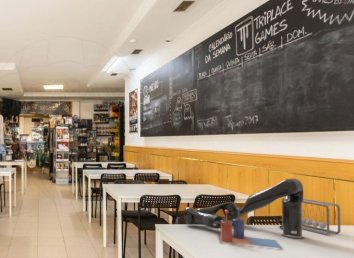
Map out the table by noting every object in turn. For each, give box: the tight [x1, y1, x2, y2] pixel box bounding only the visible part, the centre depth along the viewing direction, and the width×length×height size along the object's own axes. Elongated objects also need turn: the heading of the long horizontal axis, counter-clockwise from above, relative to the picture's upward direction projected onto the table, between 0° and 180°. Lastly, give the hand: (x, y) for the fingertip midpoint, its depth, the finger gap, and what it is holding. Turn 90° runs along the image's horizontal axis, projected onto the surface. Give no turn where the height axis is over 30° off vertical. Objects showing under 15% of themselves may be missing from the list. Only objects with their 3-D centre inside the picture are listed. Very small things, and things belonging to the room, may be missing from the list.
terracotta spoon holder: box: [220, 210, 233, 243], centre depth 182 cm, size 6×6×17 cm
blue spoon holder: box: [232, 207, 245, 239], centre depth 189 cm, size 6×6×17 cm
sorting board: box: [218, 233, 282, 249], centre depth 183 cm, size 16×28×1 cm, turn 69°
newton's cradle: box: [281, 197, 341, 236], centre depth 214 cm, size 30×10×18 cm, turn 18°
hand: (236, 226), depth 190 cm, fingers open, 8 cm apart
